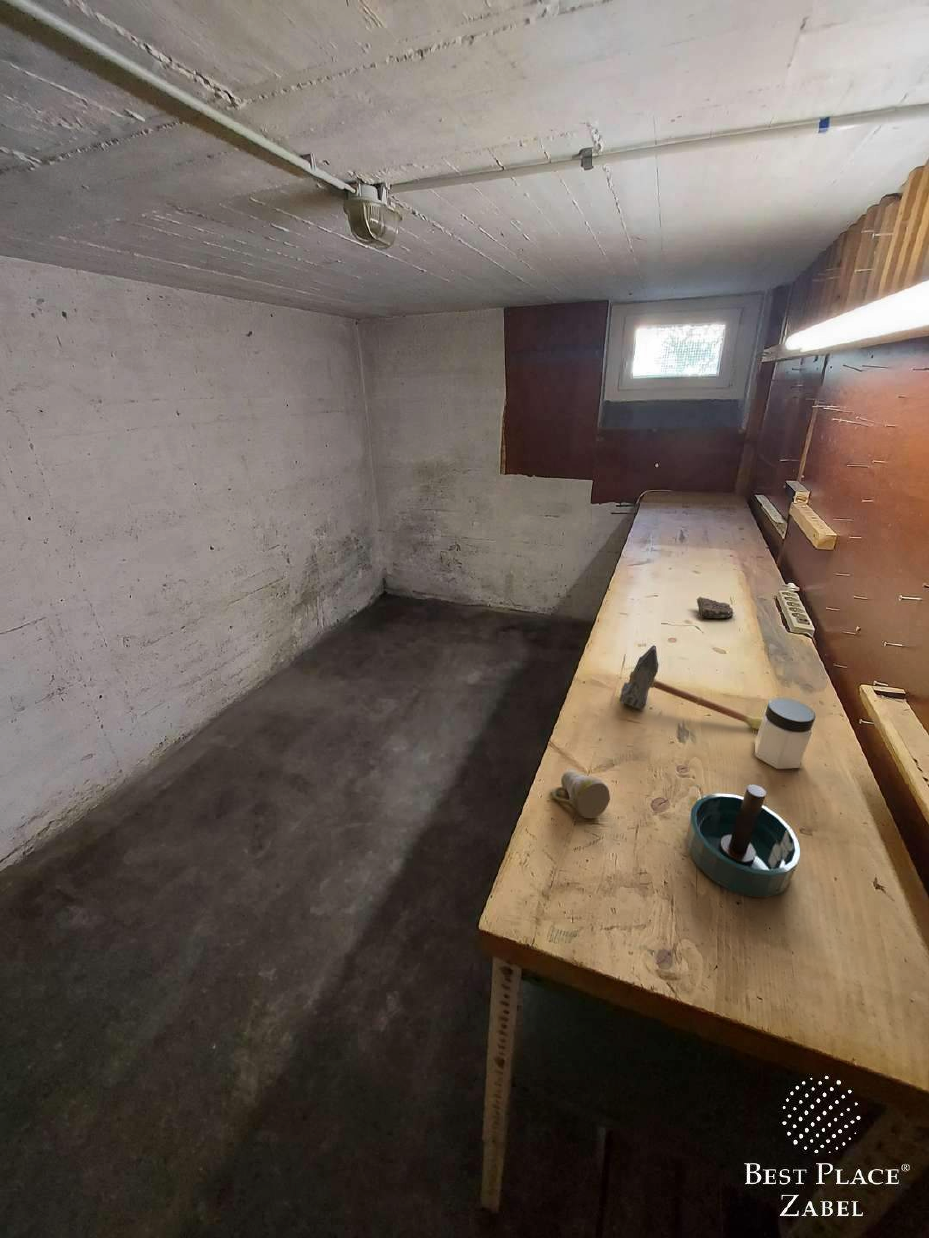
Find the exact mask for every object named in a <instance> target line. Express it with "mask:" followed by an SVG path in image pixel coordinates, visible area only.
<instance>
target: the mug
mask: <svg viewBox="0 0 929 1238" xmlns="http://www.w3.org/2000/svg"><path fill="white" fill-rule="evenodd" d="M560 782H561V786H558V787H556V788H554V790H553V791H552V797H553V800H555V801H557V802H559V803H562V804H566V805H567V806H570V807H571V808H573V809H574V810H575V811H576V812H577V813H578V814H580V815H581V816H582V817H583V818H588V819H594V818H598V817H599V816H601V815H602V814H603V813H604V812H605V810H606V809H607V808H608V805H609V804H610V801H611V793H610V790H609V787H608V786H607V785H606V784H605V782H604V781H602V780H601V779H599V778H597V777H595V776H592V775H583V774H580V773H579V772H578V771H577V770H575V769H569V770H566V771H565V772H564V773H563V774H562V776H561V778H560ZM561 791H563V792H567V794H568V797H569V799H566V798H561V797H558V796H557V794H558V793H560V792H561Z"/></svg>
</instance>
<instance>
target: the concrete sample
mask: <svg viewBox="0 0 929 1238" xmlns="http://www.w3.org/2000/svg"><path fill="white" fill-rule="evenodd" d="M696 603H697V607H698V610H697V611H698V614H699V615H700V616H705V617H706V618H708V619H724V618H727V619H728V618H730V617H734V610H733V608H732V607H730V606H731V605H730V604H729V603H727V602H719V601H717V600H713V599H709V598H707V597H706V598H705V597H702V596H699V597H698V598H697V599H696Z"/></svg>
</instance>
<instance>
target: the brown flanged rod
mask: <svg viewBox="0 0 929 1238" xmlns="http://www.w3.org/2000/svg"><path fill="white" fill-rule="evenodd" d="M743 797H744V799H743V802H742V805H741V808H740V811H739V815H738V818H737V821H736V824H735V827H734V830H733V834H732V835H725V836H724V837H722V839H721V841H720V844H719V849H720V852H721V854H722V855H723V856H725V857H727V858H728V859H730V860H732V861H734V862H735V863H738V864H741V865H744V866H749V865H751V864H752V863H753V862H754V859H755V856H756V852H755V849H754V847H753V846H752V845H751V844H750V841H751V838H752V835H753V832H754V829H755V826H756V823H757V820H758V817H759V814H760V811H761V808H762V805H764V802H765V799H766V797H767V791H766V790H765V789H764V788H763V787H762V786H760V785H758V784H748V785H747V786H746V789H745V792H744V796H743Z"/></svg>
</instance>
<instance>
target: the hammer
mask: <svg viewBox="0 0 929 1238" xmlns="http://www.w3.org/2000/svg"><path fill="white" fill-rule="evenodd" d="M658 670H659V662H658V653H657V646H656V645H654V644H653V645H652V646H651V647H650V648H649V649H648V650H647V651H646V652H644V654H643V655H642V656H639V658H638V660H637V662H636V665H635V667H634V669H633V670H632V671H630V673H629V676H628V677H629V679H628V682H625V681H624V683H623V686H622V688H621V692H620V696H619V702H621V703H622V704H626V705H628V706H631V707H632V708H635V709H637V710H641V711H642V710H644V709H645V707H646V705H647V701H648V695H649V690H650V688H651V689H657V690H659V691H661V692H665V693H667V694H670V695H673V696H676V697H677V698H681V699H684V700H686V701H688V702H691V703H694V704H696V705H697V706H702V707H704V708H705V709H706V708H707V709H709V710H711V711H714V712H717V713H719V714H722V715H724V716H727V717H730V718H733V719H735V720H737V721H740V722H743V723H744V724H747V725H748V726H749V727H750V728H753V729H756V730H758V731H759V728H760V725H761V722H762V719H763V718H761V717H758V716H756V715H748V714H744V713H743V712H742V713H741V712H739V711H738V710H737V711H736V710H734V709H731V708H729V707H726V706H723V705H721V704H718V703H716V702H714V701H710V700H708V699H707V698H703V697H702V696H698V695H695V694H693V693H690V692H687V691H685V690H683V689H679V688H677V687H674V686H672V685H669V684H666V683H664V682H661V681H659V680H657V678H656V676H657V674H658Z"/></svg>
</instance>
